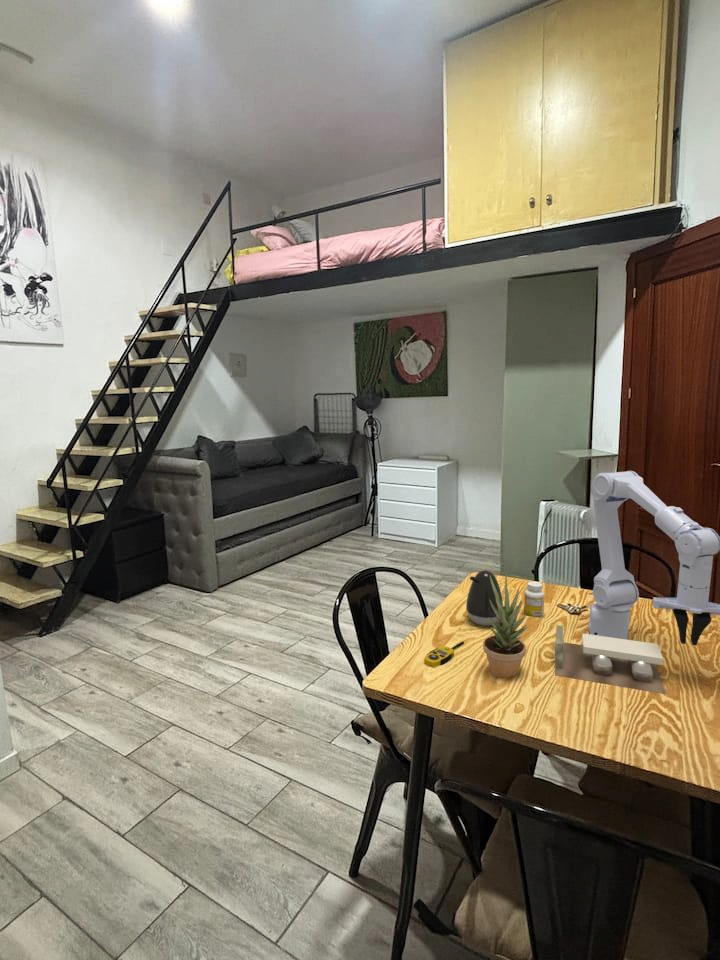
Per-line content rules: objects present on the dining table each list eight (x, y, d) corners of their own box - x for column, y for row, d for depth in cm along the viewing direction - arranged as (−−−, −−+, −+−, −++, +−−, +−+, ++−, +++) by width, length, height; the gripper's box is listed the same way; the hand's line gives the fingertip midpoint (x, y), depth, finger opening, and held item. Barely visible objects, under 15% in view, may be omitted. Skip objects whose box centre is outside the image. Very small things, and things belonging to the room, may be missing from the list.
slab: (583, 652, 118) (583, 646, 117) (581, 639, 124) (582, 633, 124) (662, 665, 112) (663, 658, 112) (657, 650, 118) (657, 643, 118)
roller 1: (592, 673, 116) (593, 657, 116) (590, 653, 125) (590, 637, 125) (612, 676, 115) (612, 660, 114) (608, 655, 124) (608, 639, 123)
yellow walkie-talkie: (420, 656, 124) (455, 634, 134) (420, 663, 124) (455, 641, 135) (436, 663, 121) (471, 641, 131) (436, 670, 121) (471, 647, 131)
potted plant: (474, 668, 121) (476, 568, 117) (506, 659, 125) (509, 562, 121) (501, 690, 112) (505, 583, 108) (535, 680, 116) (540, 576, 112)
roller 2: (632, 680, 113) (632, 663, 113) (626, 658, 123) (627, 643, 122) (652, 683, 112) (653, 666, 111) (645, 661, 121) (646, 645, 121)
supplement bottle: (529, 609, 153) (530, 578, 151) (546, 615, 149) (548, 583, 147) (520, 615, 149) (521, 583, 147) (537, 621, 145) (539, 588, 144)
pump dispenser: (458, 618, 148) (459, 568, 145) (486, 611, 152) (487, 562, 150) (481, 633, 139) (482, 579, 136) (510, 625, 143) (512, 573, 141)
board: (554, 679, 116) (556, 650, 115) (555, 644, 132) (556, 619, 131) (665, 698, 108) (668, 667, 107) (652, 659, 124) (654, 632, 123)
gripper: (658, 586, 109) (653, 645, 112) (740, 595, 104) (732, 656, 106) (653, 575, 116) (648, 631, 118) (729, 582, 111) (722, 641, 113)
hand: (687, 642), depth 113 cm, fingers closed
